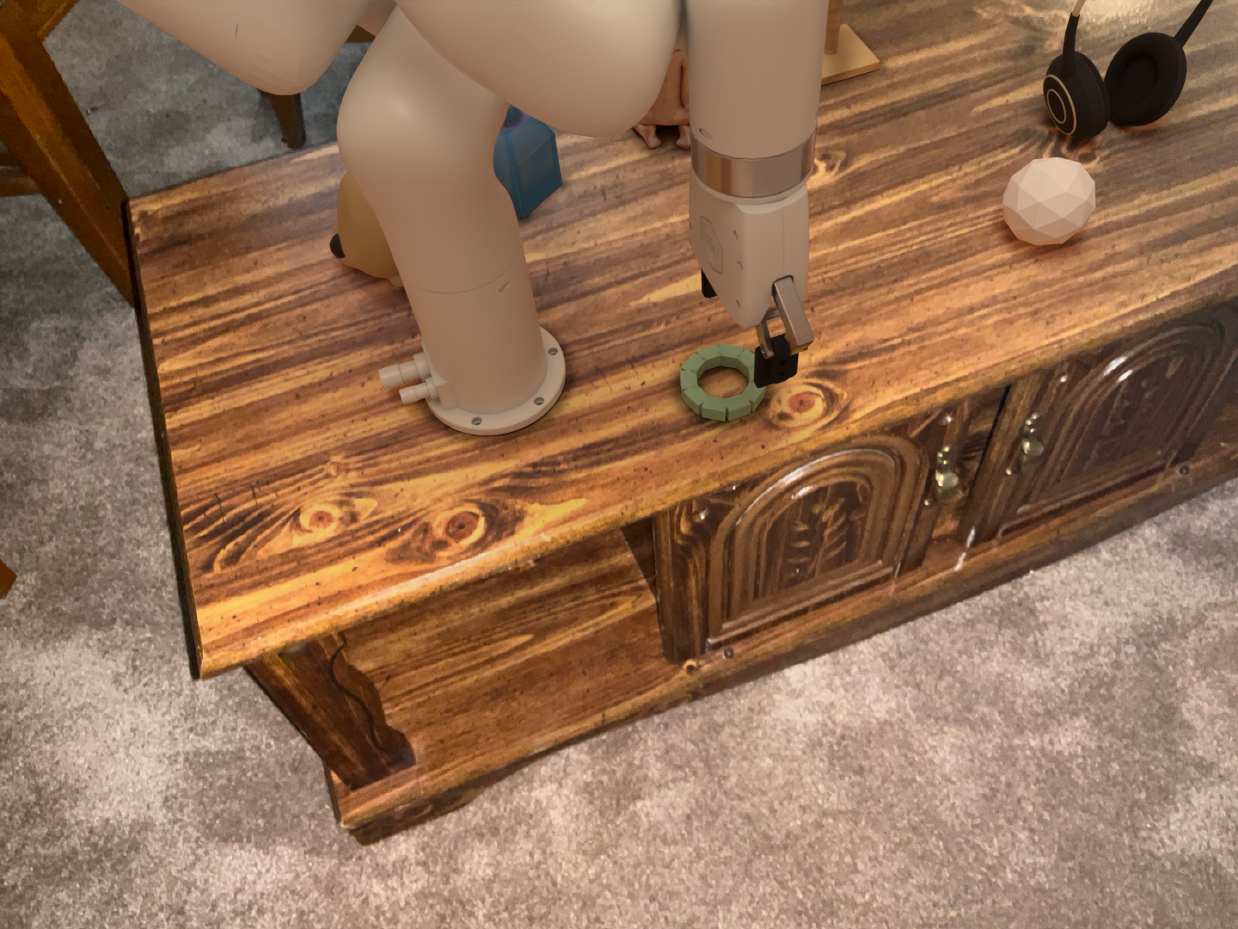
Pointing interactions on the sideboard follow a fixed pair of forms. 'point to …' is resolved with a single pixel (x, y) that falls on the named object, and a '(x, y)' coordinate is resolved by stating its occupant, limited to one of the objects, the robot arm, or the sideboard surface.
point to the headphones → (1118, 80)
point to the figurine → (670, 104)
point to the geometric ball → (1049, 200)
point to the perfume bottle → (526, 161)
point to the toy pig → (361, 235)
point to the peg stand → (844, 49)
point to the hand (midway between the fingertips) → (747, 333)
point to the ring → (716, 405)
